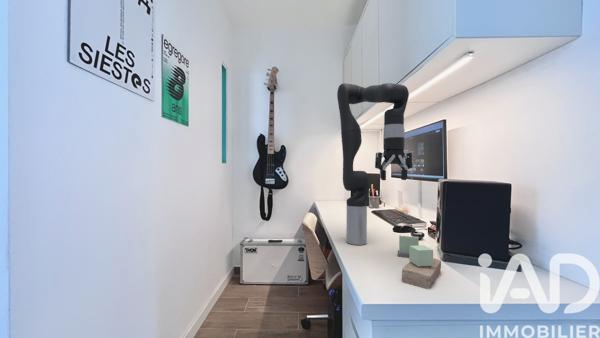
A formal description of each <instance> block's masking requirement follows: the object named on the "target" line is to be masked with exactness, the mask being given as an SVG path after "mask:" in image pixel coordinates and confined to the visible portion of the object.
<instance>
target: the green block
mask: <svg viewBox="0 0 600 338" xmlns="http://www.w3.org/2000/svg"><path fill="white" fill-rule="evenodd" d="M433 258H434V249H432V248H430V247H428V246H426V245H421V244H419V245H417V246H409V258H408V259H409V262H412V263H413V264H415V265H417V266H418V267H420V266H433Z"/></svg>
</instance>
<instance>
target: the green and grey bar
mask: <svg viewBox="0 0 600 338" xmlns="http://www.w3.org/2000/svg"><path fill="white" fill-rule="evenodd" d="M419 239H420V237H419V236H409V235H400V234H399V236H398V241H399V242H398V245H399V249H398V251H397V257H399V258H408V259H409V246H417V245H420V244H419Z"/></svg>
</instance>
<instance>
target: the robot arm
mask: <svg viewBox="0 0 600 338" xmlns="http://www.w3.org/2000/svg"><path fill="white" fill-rule="evenodd" d="M336 95H337V96H336V97H337V98H336V99H337V104H338V110H339V111H338V112H339V119H340V134H341V135H340V136H341V137H340V138H341V147H342V184H343V187H344V189H345V190H346V191H347V192H355V194H354V195H353V196H351V197H349V198H346V233H345V234H346V235H345V236H346V243H347V244H349V245H354V246H355V245H356V246H362V245H366V244H368V241H367V237H368V236H367V234H368V226H367V225H368V210H367V208H368V200H369V188H370V186H369V185H370V179H369V175H368V173H367V171H365V170H354V161H355V158H356V155H357V153H358V152H359V150H360V148H361V145H362V129H361V126H360V124H359V122H358V121H357V119H356V118H355V116H354V115H353V113H352V110H351V107H350V105H357V104H360V103H361V104H362V103H374V104H375V103H376V104H381V103H387V104H393V106H392V108H390V109H387V110H385V111H384V116H383V117H384V118H383V119H384V120H383V121H384V122H383V140H382V141H383V152H381V151H378V152H376V153H375V161H374V163H375V164H374V168H375V169H377V170H379V178H380V179H381V181H386V180H387V170H386V169H387V167H388V166H390V165H398V166H399V167H400V169H401V171H400V172H401V173H400V174H401V175H400V176H401V177H400V178H401V181H406V180H407V179H408V170H410V169H412V168H413V153H412V152H404V151H405V132H406V131H405V111H406V108H407V106H408V105H407V104H408V100H409V96H410V93H409V89H408V87H407V86H406V85H404V84H399V83H398V84H397V83H390V82H389V83H388V82H386V83H382V84H375V85H369V86H367V87H363V86H360V85H357V84H352V83H344V82H343V83H341V84H339V86H338V88H337V94H336ZM383 158H384V159H383ZM382 159H383V161H382ZM404 159H405V160H404Z"/></svg>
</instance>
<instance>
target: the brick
mask: <svg viewBox="0 0 600 338" xmlns="http://www.w3.org/2000/svg"><path fill="white" fill-rule="evenodd" d="M441 269H442V260H441V259H439V258H436V257H435V258H434V257H433V266H420V267H418V266H417V265H415V264H413V263H412V262H410V261H409V262H407V263H406V264H405V265H404V266H403V268H402V271H401V282H402V283H404V284H408V285H412V286H417V287H419V288H423V289H426V290H430V289H431V288H432V286H433V284H434V283H435V281H436V280H437V278H438V276H439V275H440V274H441Z"/></svg>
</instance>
